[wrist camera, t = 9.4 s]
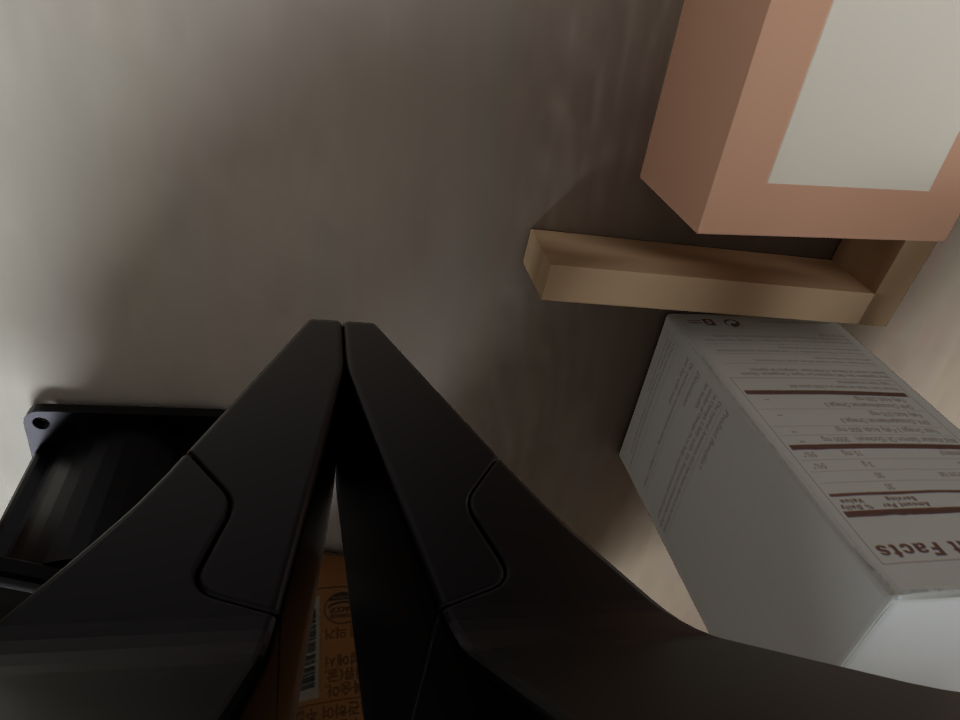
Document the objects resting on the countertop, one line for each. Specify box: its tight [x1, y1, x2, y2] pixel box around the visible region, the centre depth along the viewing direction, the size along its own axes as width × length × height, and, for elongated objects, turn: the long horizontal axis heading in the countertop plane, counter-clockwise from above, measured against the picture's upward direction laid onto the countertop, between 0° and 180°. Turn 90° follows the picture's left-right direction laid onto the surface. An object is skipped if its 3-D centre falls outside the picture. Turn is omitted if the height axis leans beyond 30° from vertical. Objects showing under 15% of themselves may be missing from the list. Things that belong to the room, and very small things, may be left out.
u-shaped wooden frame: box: [523, 229, 937, 326], centre depth 19 cm, size 13×16×2 cm
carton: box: [640, 0, 960, 242], centre depth 18 cm, size 8×10×5 cm
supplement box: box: [619, 314, 960, 692], centre depth 22 cm, size 7×7×13 cm
